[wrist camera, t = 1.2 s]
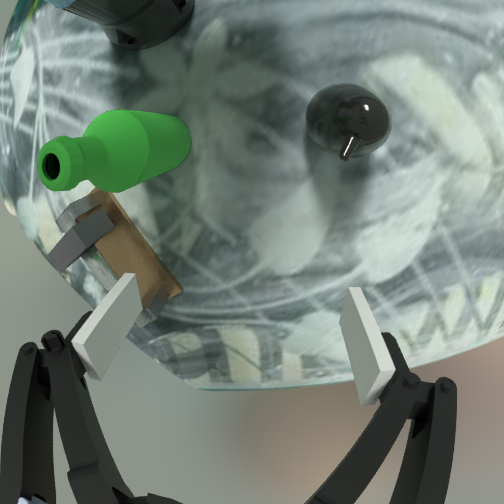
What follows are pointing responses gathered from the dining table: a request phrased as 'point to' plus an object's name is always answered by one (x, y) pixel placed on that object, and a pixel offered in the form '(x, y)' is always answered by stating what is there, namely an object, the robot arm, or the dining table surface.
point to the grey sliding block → (80, 239)
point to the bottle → (115, 151)
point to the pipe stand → (122, 254)
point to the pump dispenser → (348, 120)
